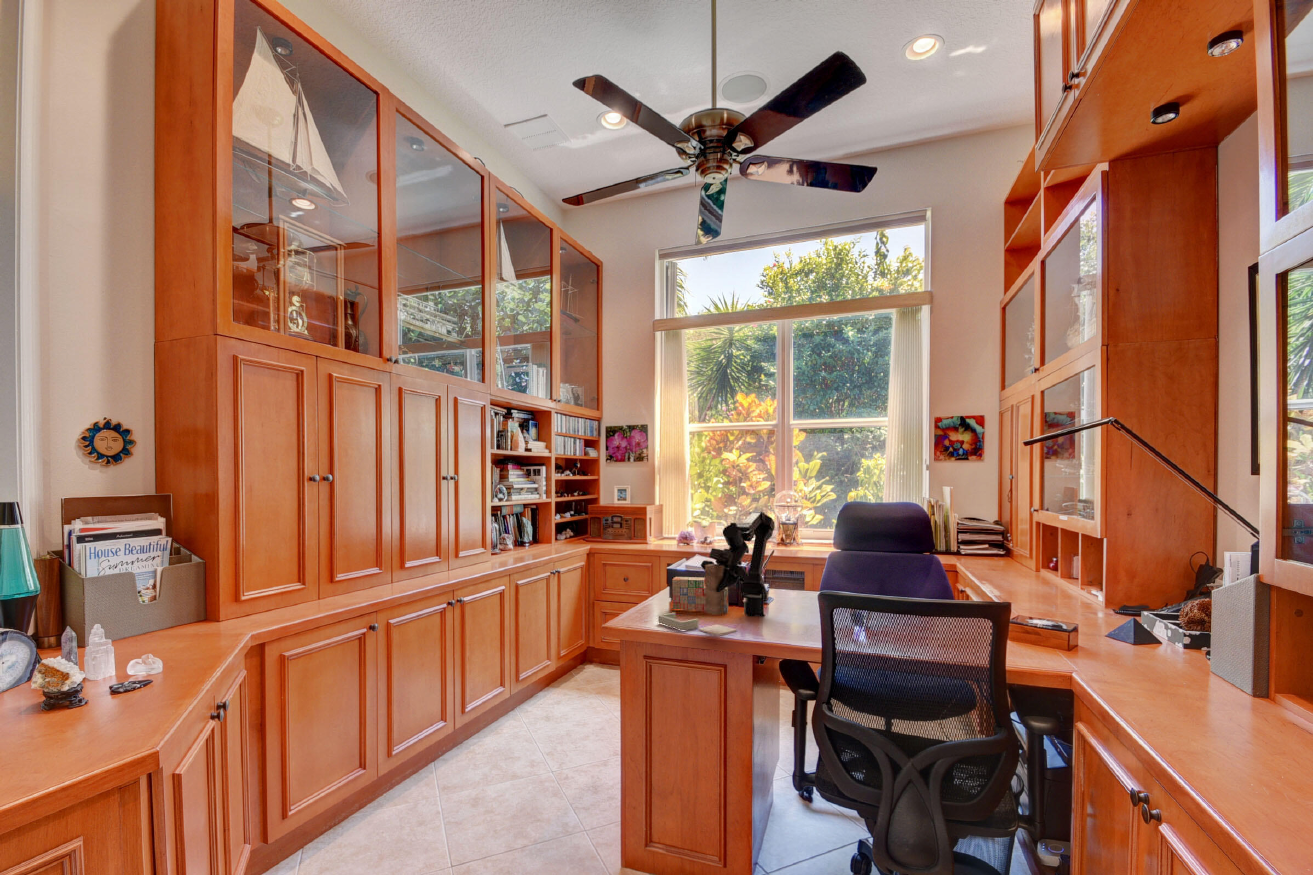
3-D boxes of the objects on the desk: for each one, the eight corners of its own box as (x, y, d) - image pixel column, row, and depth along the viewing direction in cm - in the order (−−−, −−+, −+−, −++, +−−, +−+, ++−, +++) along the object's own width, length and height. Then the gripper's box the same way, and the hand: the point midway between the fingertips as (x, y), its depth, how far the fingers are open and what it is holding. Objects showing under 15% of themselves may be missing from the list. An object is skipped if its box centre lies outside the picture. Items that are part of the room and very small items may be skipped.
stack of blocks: (728, 609, 224) (728, 578, 225) (727, 613, 218) (726, 580, 219) (675, 607, 229) (675, 576, 230) (672, 610, 223) (672, 578, 224)
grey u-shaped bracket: (674, 620, 207) (674, 612, 207) (698, 627, 197) (698, 618, 197) (658, 624, 202) (658, 615, 202) (682, 631, 192) (682, 622, 192)
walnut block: (715, 610, 197) (714, 563, 198) (724, 613, 193) (723, 565, 194) (705, 612, 194) (705, 565, 195) (714, 615, 190) (714, 566, 191)
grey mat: (717, 626, 199) (717, 624, 199) (736, 631, 192) (736, 629, 192) (698, 630, 193) (698, 628, 193) (717, 636, 186) (717, 634, 186)
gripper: (704, 537, 205) (681, 571, 197) (742, 541, 190) (718, 579, 183) (720, 557, 209) (698, 592, 202) (758, 563, 195) (736, 600, 187)
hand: (711, 590), depth 193 cm, fingers closed on walnut block, 4 cm apart
